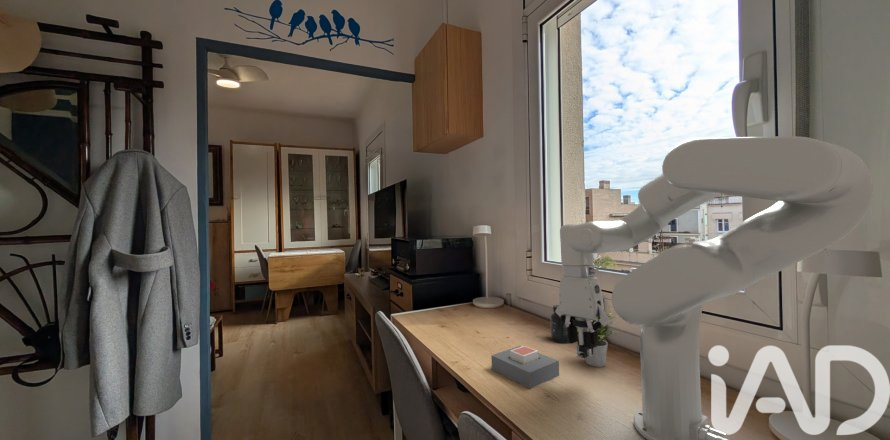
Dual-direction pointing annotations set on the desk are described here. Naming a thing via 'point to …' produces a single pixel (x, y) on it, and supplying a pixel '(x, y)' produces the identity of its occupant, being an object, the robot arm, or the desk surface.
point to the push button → (582, 337)
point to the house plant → (599, 347)
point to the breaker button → (524, 355)
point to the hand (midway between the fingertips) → (582, 343)
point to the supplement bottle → (558, 328)
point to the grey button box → (526, 368)
